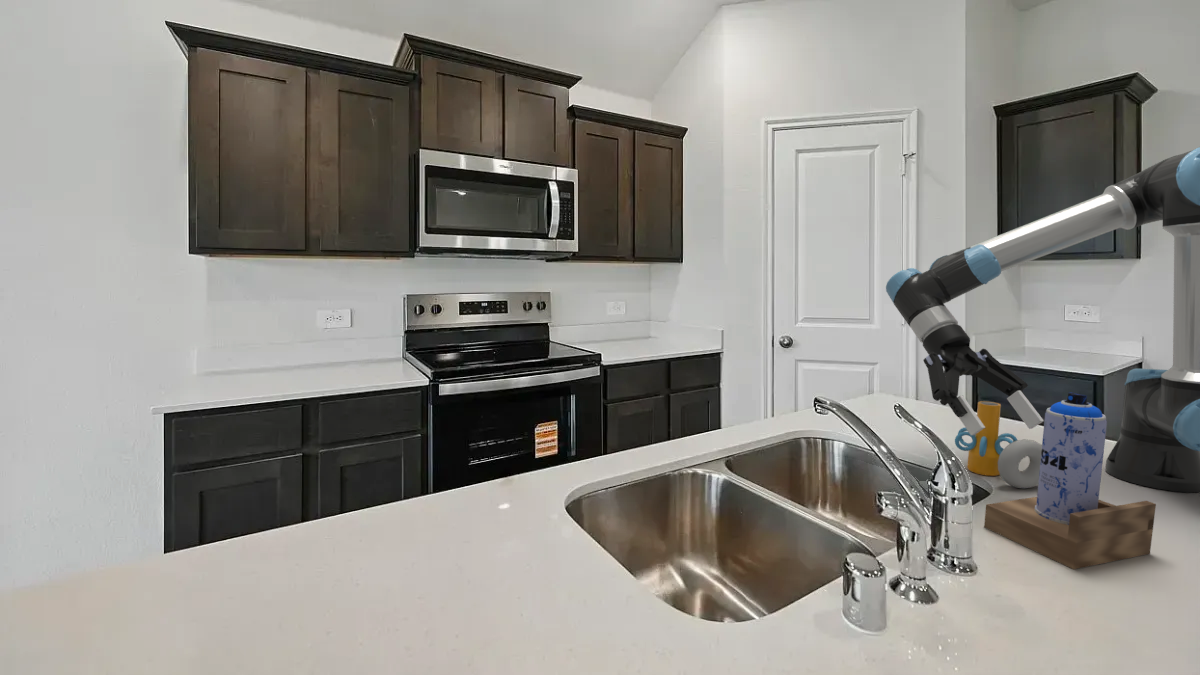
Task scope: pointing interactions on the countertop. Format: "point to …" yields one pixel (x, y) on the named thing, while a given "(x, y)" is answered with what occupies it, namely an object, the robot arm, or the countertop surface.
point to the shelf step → (1077, 531)
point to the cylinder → (985, 441)
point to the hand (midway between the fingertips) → (1008, 428)
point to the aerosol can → (1070, 459)
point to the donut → (1012, 458)
